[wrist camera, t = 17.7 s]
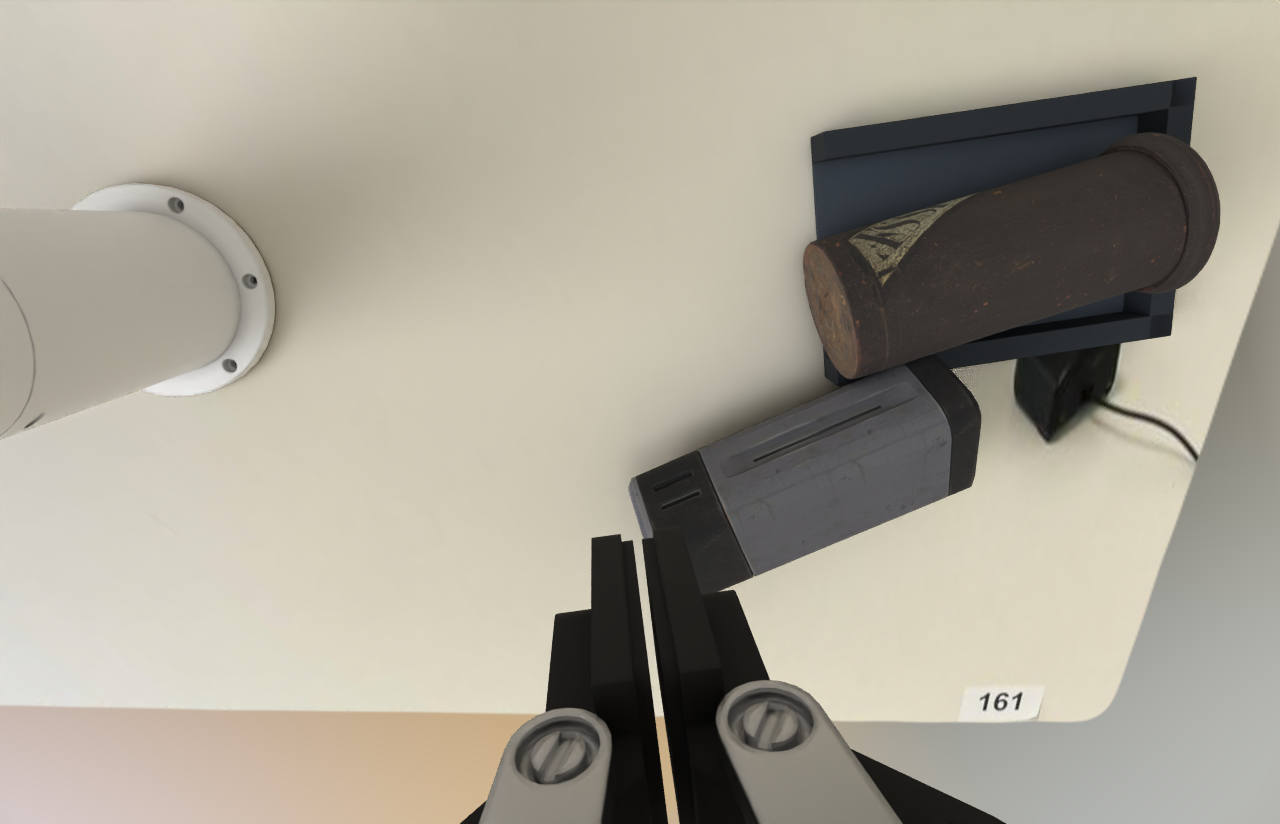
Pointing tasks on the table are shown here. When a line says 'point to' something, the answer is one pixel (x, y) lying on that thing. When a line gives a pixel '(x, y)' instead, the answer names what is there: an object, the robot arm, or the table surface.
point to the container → (1013, 254)
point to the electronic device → (816, 472)
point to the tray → (988, 158)
